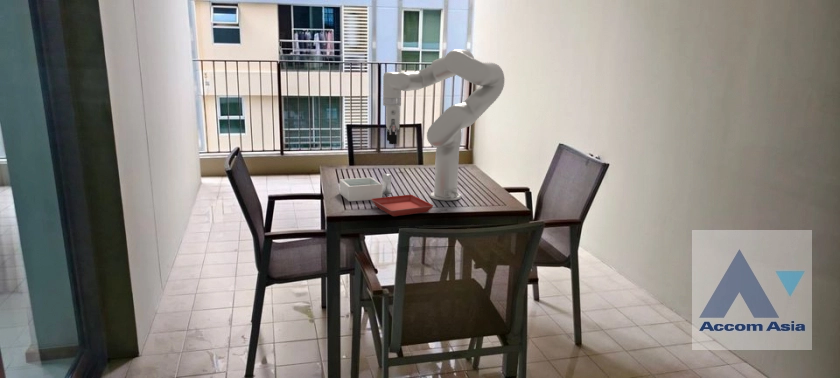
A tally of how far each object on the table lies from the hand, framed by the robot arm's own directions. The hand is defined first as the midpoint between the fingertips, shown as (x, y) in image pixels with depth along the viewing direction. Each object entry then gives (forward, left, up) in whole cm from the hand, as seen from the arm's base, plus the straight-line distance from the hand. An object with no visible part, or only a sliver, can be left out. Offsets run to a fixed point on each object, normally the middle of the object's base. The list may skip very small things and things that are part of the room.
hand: (391, 142), depth 245 cm
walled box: (-8, +16, -21) cm, 27 cm away
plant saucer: (-32, +7, -21) cm, 39 cm away
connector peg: (-6, +4, -21) cm, 22 cm away
